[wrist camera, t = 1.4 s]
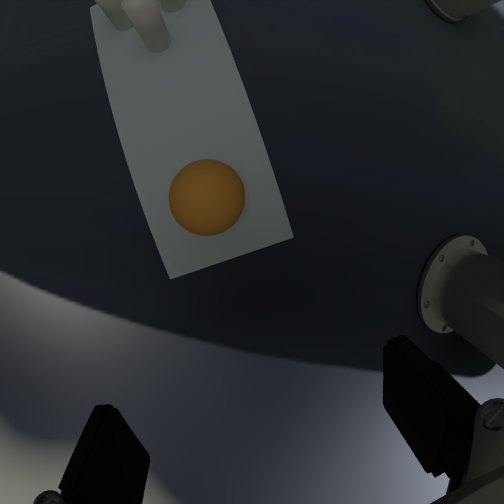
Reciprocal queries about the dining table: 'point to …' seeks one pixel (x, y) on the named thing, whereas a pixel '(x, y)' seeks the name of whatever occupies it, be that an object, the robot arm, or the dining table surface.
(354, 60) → the dining table surface
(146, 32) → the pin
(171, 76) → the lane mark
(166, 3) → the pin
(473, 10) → the travel mug
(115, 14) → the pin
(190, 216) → the ball
